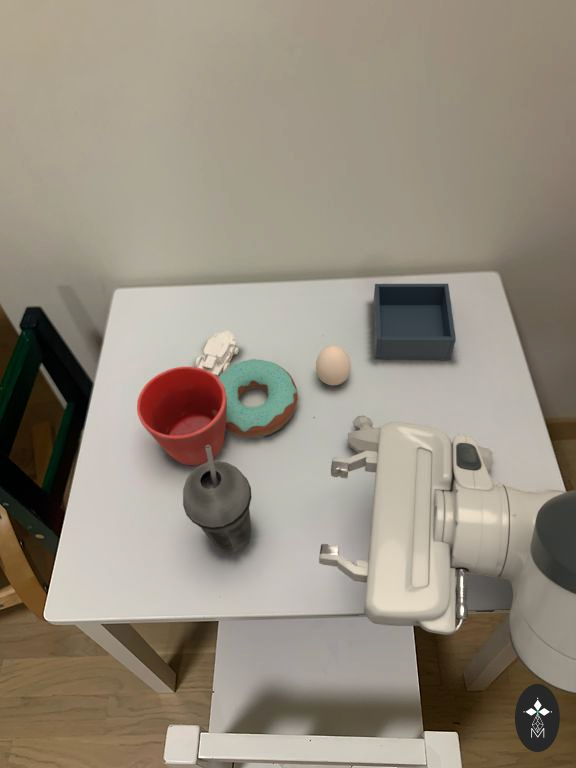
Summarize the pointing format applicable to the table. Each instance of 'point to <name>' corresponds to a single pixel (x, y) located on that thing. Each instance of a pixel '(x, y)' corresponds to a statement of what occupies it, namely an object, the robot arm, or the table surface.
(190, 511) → the beverage cup
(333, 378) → the egg
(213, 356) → the toy car
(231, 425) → the donut
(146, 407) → the flower pot
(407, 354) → the freezer basket
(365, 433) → the bone
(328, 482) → the table surface
